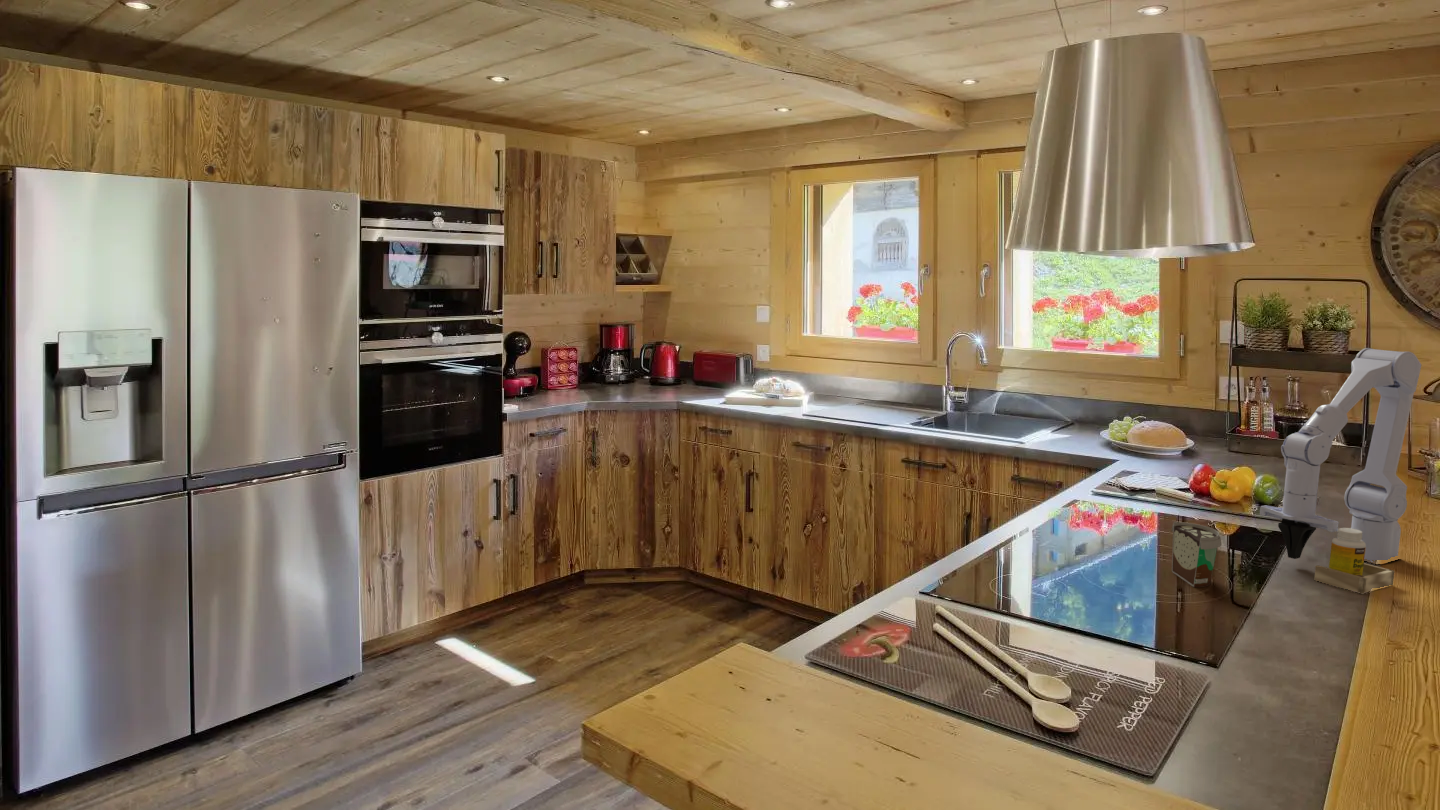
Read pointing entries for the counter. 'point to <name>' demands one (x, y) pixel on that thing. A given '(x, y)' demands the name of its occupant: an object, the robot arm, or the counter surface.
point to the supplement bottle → (1348, 551)
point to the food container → (1194, 552)
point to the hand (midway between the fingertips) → (1293, 557)
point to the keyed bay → (1356, 578)
